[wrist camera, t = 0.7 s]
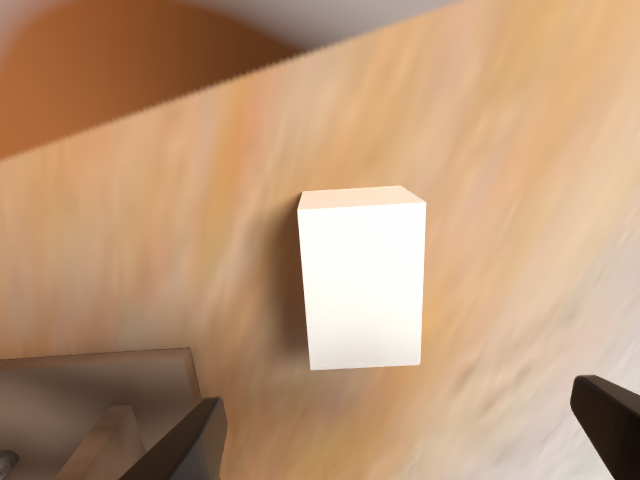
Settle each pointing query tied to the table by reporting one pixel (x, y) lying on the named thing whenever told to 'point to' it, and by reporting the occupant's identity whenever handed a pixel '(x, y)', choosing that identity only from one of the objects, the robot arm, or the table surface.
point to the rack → (90, 411)
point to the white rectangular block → (362, 276)
